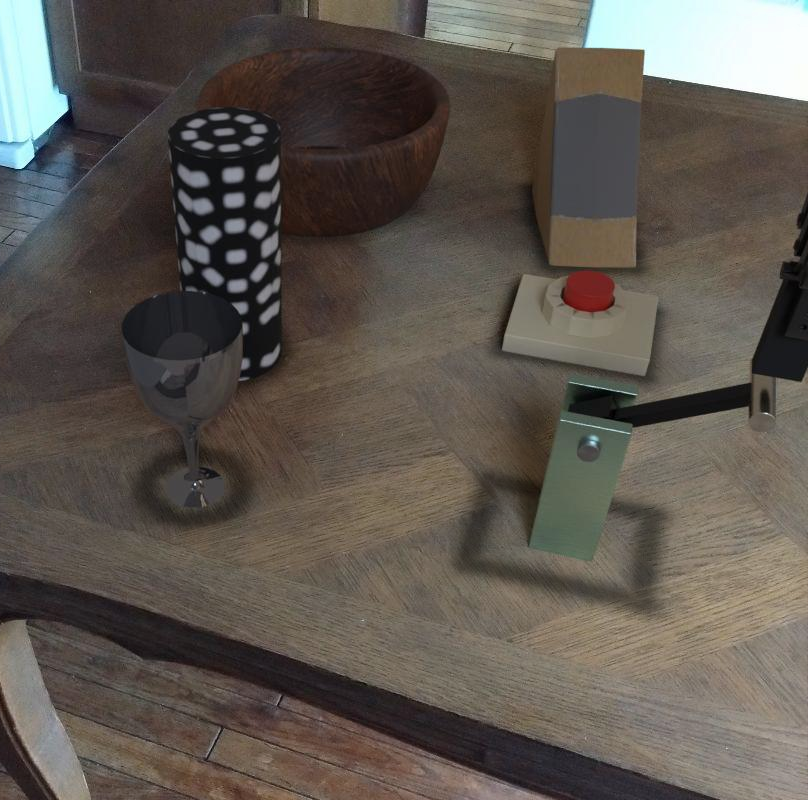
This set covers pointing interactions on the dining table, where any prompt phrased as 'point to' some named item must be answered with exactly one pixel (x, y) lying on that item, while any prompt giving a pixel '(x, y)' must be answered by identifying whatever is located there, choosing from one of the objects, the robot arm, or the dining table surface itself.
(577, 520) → the bracket
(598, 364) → the block
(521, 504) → the dining table surface
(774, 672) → the dining table surface
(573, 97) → the sandwich container
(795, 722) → the dining table surface
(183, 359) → the wine glass
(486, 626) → the dining table surface
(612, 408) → the lever
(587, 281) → the button
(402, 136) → the wooden bowl
